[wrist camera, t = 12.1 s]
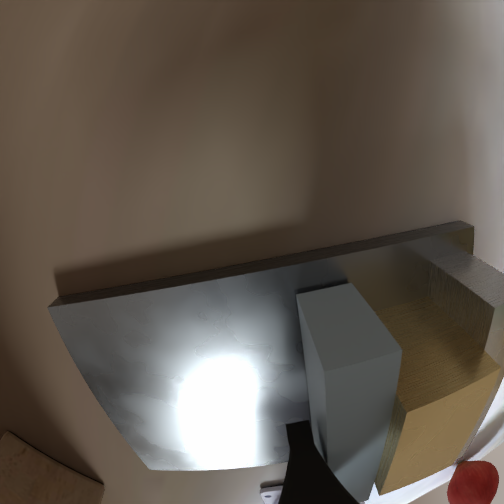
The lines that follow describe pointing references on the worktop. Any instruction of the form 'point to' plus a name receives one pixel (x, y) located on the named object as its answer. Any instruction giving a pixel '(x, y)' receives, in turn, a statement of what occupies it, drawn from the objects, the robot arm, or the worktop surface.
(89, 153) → the worktop surface
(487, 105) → the worktop surface
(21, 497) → the wooden block
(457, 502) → the pomegranate
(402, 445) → the brass block
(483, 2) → the worktop surface
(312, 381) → the block
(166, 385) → the vise
